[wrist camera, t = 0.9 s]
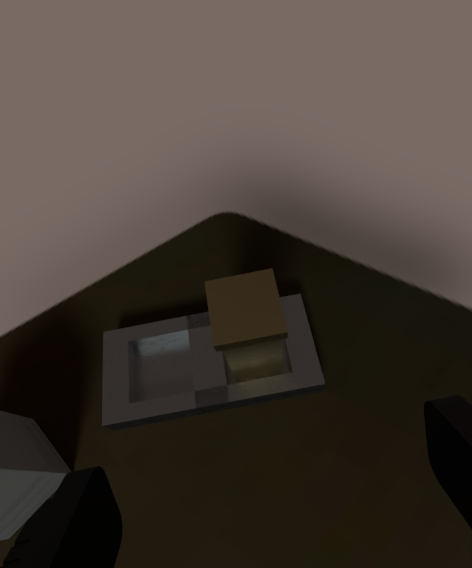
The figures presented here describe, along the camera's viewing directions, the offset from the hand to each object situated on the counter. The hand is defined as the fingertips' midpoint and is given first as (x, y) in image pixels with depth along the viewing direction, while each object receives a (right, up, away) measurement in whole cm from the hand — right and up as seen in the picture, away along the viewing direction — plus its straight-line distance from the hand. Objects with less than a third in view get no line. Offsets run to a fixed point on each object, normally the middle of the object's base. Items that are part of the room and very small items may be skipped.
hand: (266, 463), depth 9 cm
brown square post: (+1, -2, +28) cm, 28 cm away
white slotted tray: (-3, -4, +29) cm, 29 cm away
